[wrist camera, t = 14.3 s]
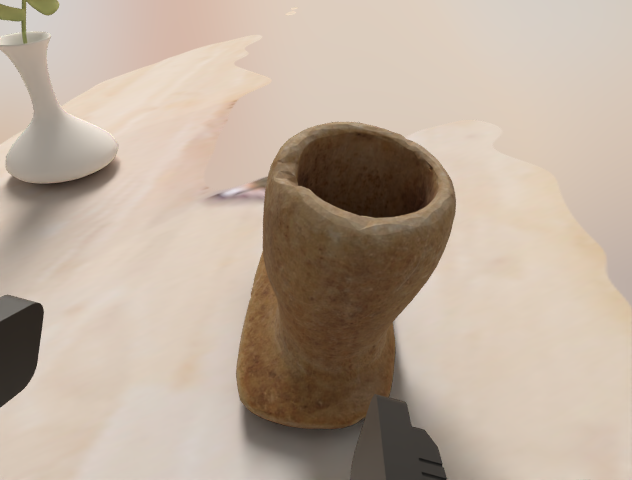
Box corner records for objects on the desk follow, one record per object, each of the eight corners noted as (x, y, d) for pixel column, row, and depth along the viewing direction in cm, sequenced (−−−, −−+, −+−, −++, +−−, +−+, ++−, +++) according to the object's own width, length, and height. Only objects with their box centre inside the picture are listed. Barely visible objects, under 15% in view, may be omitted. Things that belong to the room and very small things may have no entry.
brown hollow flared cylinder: (433, 449, 26) (487, 227, 17) (221, 435, 27) (169, 217, 18) (411, 271, 38) (436, 86, 30) (265, 265, 39) (246, 83, 30)
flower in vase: (67, 203, 47) (-53, -109, 32) (-13, 182, 51) (-153, -107, 36) (152, 149, 57) (90, -112, 42) (80, 134, 61) (-1, -110, 46)
